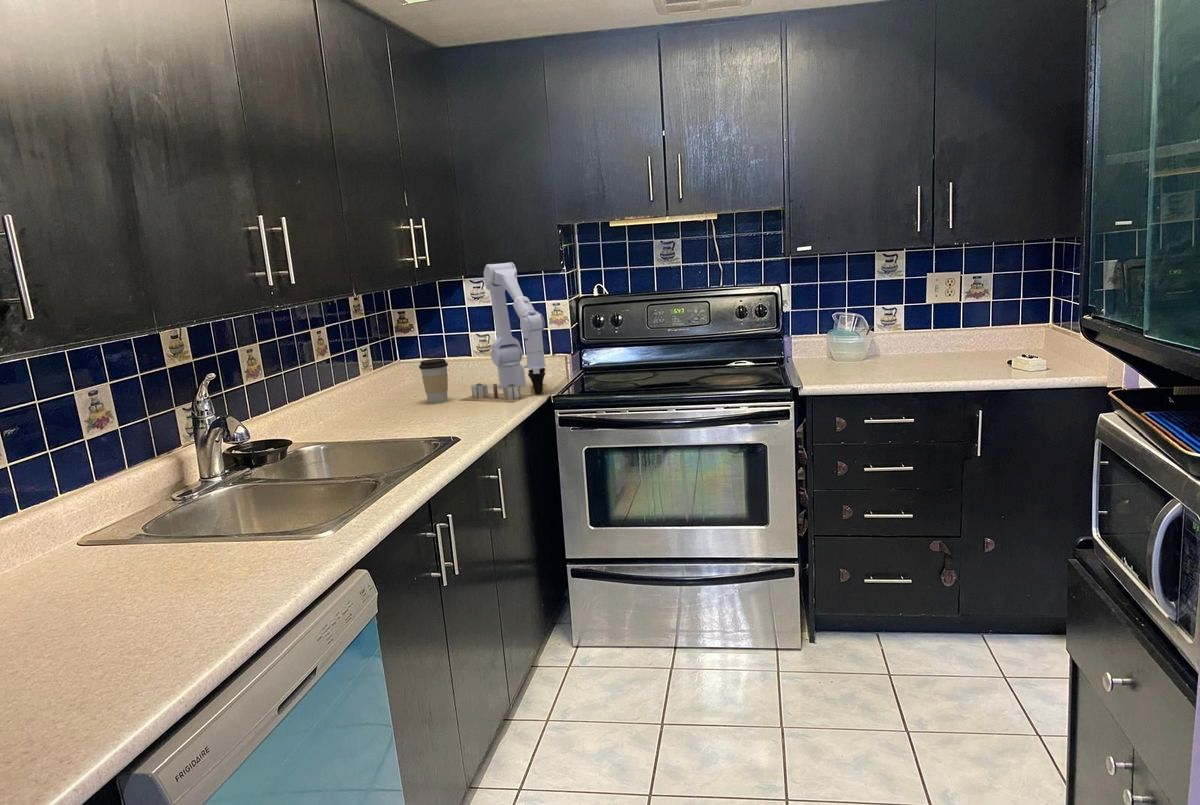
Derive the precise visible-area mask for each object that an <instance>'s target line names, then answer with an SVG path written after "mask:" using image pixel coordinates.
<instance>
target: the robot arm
mask: <svg viewBox="0 0 1200 805" xmlns="http://www.w3.org/2000/svg"><path fill="white" fill-rule="evenodd" d="M483 269H484V270H483V279H484V284H485V289H486V290H488V291H489V295H490V300H491V307H492V314H493V319H494V325H495V332H496V337H497V338H496V339H495V340H494V341H493V342H492V344H491V345H490V348H491V349H490V350H491V353H490V357H491V361H492V363H493V364H494V366H495V367H497V373H498V383H499V388H501V389H503V386H506V385H510V384H513V385H514V384H517V385H520V387H527V385H526V373H525V371H526V370H525V369H528V373H527V376H528V377H529V379H530V381H531V385H532V384H533V388H534V391H535V394H534V395H540V394H543V393H542V387H543V383H544V379H545V375H546V368H545V367H547V366H546V362H545V351H544V342H543V341H544V340H543V331H544V329H545V319H544V316H543V314H541V313H540V312H539V311H538V310H537V311H536V310H535V308H534V306H533V304H532V303H531V301H530V299H529V297H527V296H524V293H523V292H522V290H521V287H520V285H519V282H518V271H517V268H516V265H515V264H514V262H512V261H509V262H505V263H504V262H503V263H488V264H486V265H485V267H484V268H483ZM506 291H507V293H508V294H509V296H510V297H511V299H512V300H513V304H512V307H513V309H514V311H515V313H516V315H517V317H518V318H519V320H520V322H519V327H520V330H521V332H522V337H523V339H524V342H525V343H524V345H525V354H526V364H524V365H522V364H521V362H522V359H523V358H524V357H523V349H522V347H521V344H520V341H519V340H518V338H515V337H514V336H513V335H512V328H511V323H510V317H509V310H508V305H507V298H506Z"/></svg>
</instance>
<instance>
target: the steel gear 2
mask: <svg viewBox="0 0 1200 805" xmlns="http://www.w3.org/2000/svg"><path fill="white" fill-rule="evenodd" d="M502 390H503V393H502V394H504V399H505V400H514V399H519V398H521V394H522V393H521V386H520V385H517V384H514V385H513V387H510V386H509V385H506V386H503V388H502Z"/></svg>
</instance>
